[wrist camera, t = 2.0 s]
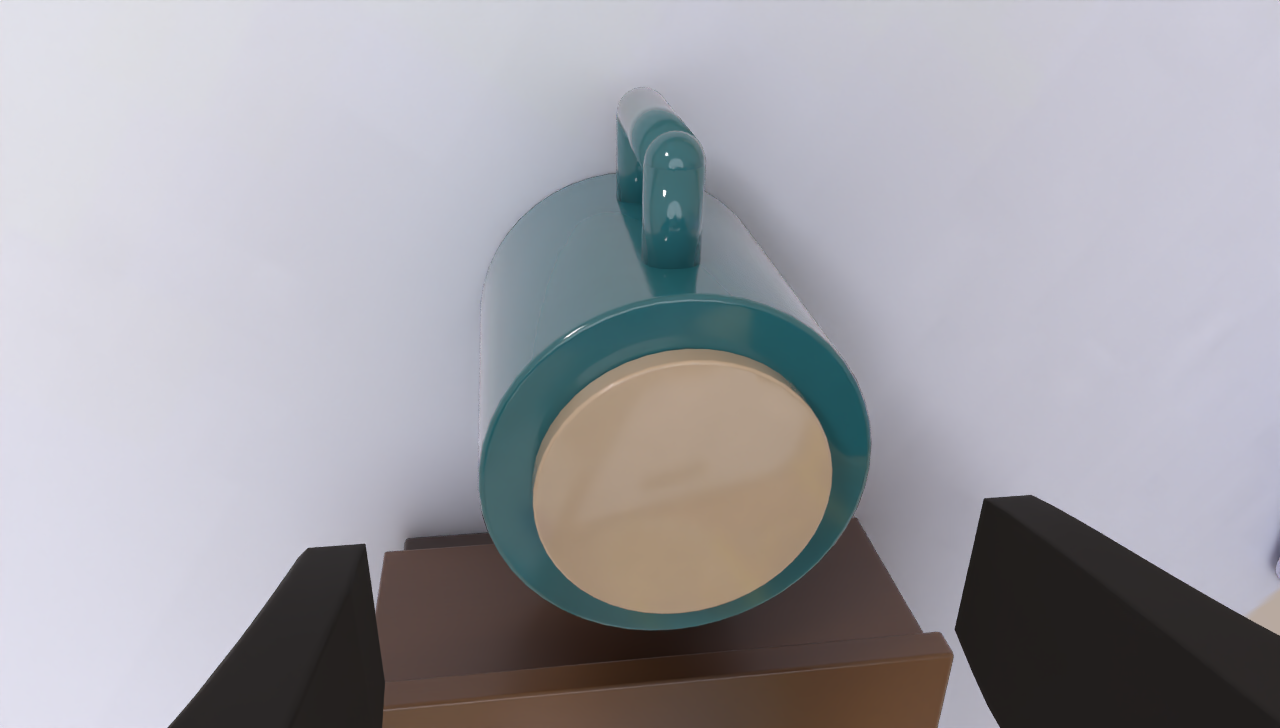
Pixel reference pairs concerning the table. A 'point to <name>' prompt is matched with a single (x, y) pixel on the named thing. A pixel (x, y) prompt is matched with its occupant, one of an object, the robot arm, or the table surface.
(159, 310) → the table surface
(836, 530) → the cup
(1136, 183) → the table surface
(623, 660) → the brown wooden box
